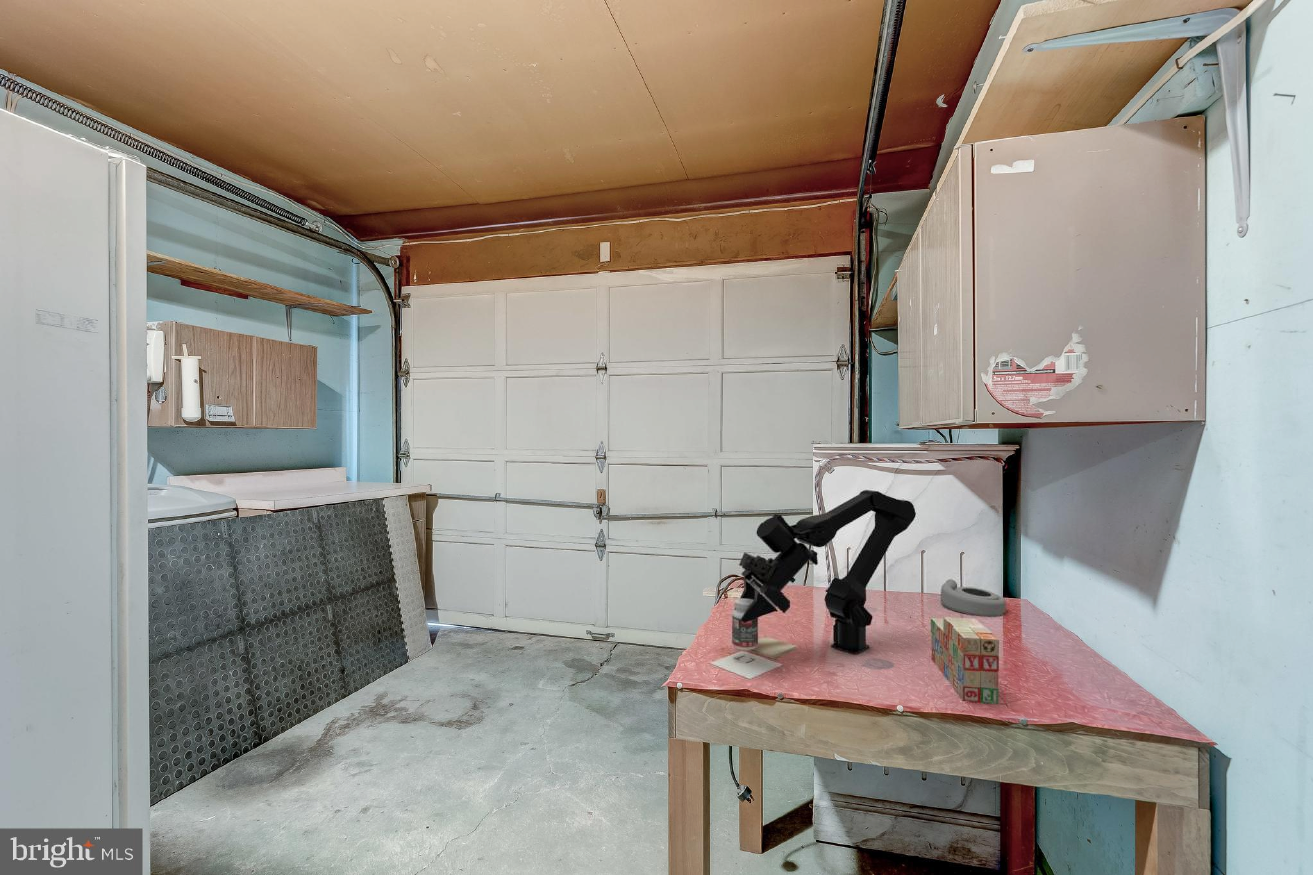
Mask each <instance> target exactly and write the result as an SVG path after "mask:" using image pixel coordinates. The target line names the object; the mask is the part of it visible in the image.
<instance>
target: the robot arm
mask: <svg viewBox="0 0 1313 875" xmlns="http://www.w3.org/2000/svg"><path fill="white" fill-rule="evenodd" d="M870 512H873V513H874V527H873V529H872V531H871V533H870V535H869V536H868V537H867V539H866V542H864V544H863V546H862V548H861V549H860V552H858V555H857V557H856V559H855V560H854V561H853V564H852V565H851V567H850V568H849V570H848V572H847V573H846V575H845V576H844V577H842V578H839V577H838V578H837V577H834V578H833V579H832V580H831V582H830V585H829V586H828V588H827V589H825V595H824V596H825V597H824V603H825V604H824V605H825V607H826V609H827V610H828V614H829V615H830V618H833V619H834V624H833V626H832V632H833V634H832V637H833V638H832V639H833V640H832V641H833V643H831V645H830V647H831V648H834V649H837V650H841V651H844V652H847V653H850V654H855V655H857V654H859V653H862V652H863V651H865V650H867V649H870V645H869V644H867V639H866V638H867V627H868V626H871V625H872V621H873V617H874V616H873V615H872V614H871V612H870V611H869V610H867V608H865V604H866V602H867V587H868V584H869V583H870V581H871V579H872V578H873V575H875V574H874V573H875V572H876V570H877V569H878V567H879V565H880V564H881V561H882V560H883V558H884V556H885V554H886V553H887V551H888V550H889V547H890V546H891V544H892V542H893V540H894V539H895V538H896V537H897V536H898V535H899V534H902V533H904V531H906V530H907V529H908V528H909V527H910V526H911V524H912V523H913V521H914V520H915V518H916V515H917V512H916V509H915V505H914V504H913V503H912V502H911V501H910V500H907V499H906V500H905V499H900V498H899V499H898V498H895V497H892V496H890V495H887V494H884V493H883V492H881V491H877V490H869V489H864V490H862V491H860V492H859V493H858V494H857V495H855V496H853V497H851V498H850V499H848V500H846V501H845V502H843V503H841V504H839V505H837V506H835V507H834V508H832V509H831V510H829V511H827V512H825V513H821V514H813V515H811V516H807V517H804V518H801V519H800V520H798V521H797V522H796V524H792V525H790V524H789V523H788V522H787V521H786V520H785V518H784V517H783V516H782V515H781V514H778V513H774V514H773V516H772V517H769V518H767V519H765V520H764V521H763V522H761V523H760V524H759V525H758V527H757V529H756V535H757V537H758V538H759V539H760V540H761V541H762V542H763V543H764V544H765V545H766V546H767V547H768V548H769V549H770V550H771V551H772V552H773V553H775V554H777V555H776V556H775V557H774V558H772V557H769V558H768V559H766V558H765V557H763V556H760V555H756V556H754V555H752V554H749V553H747V552H743V555H742V557H741V560H740V562H739V564H738V565H739V566H740V567H741V568H742V569H743V571H742V572H741V576H742V577H743V579H742V581H743V591H742V593H741V595H740V598H739V599H752V600H754V601H753V602H752V603H751V605H750V606H749V608H748V609H747V610H746V612H745V613H744V615H743V616H742V618H741V620H742V621H743V622H744V623H745V622H748V621H750V620H753V619H755V618H758V619H759V618H760V617H763V616H765V615H768V614H771V613H774V612H775V613H777V612H778V611H781V612H782V613H783V614H786V612H788V610H789V609H790V608H791V600H790V599H789V598H788V597H787V596H786V595H784V592H782V590H784V588H785V587H786V586H787V585H788V584H789V583H790V582H791V583H792V584H793V583H794V582H795V581H796V578H795V576H796V575H797V574H798V573H799V572H800V571H801V570H802V568H803V567H804V566H805V565H806V564H808V562H810V563H812V564H813V565H815V566H817V565H818V564H819V562H818V552H817V551H815V550H813V549H809V547H807V546H806V545H808V546H811V547H815V548H823V547H825V546H826V545H827V544H828V543H830V542H831V541H832V540H833V539H834V538H835V537H836V535H837V533H838V532H839V531H840V529H842V528H844V527H846V526H847V525H849V524H851V523H852V522H854V521H856V520H858V519H860V518H861V517H863V516H865V515H866V514H868V513H870ZM795 539H796V540H795ZM797 541H798V542H797ZM735 609H736V608H735V607H734V609H733V611H734V610H735Z"/></svg>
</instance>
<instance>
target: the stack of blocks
mask: <svg viewBox="0 0 1313 875" xmlns="http://www.w3.org/2000/svg"><path fill="white" fill-rule="evenodd" d="M930 633H931V635H930V636H931V637H930V638H931V640H930V641H931V659H932V661H933V662H934V665H935V666H936V667H937V668H938V669H939V671H940V672H941V674H942V675H943V676H944V677H945V679H946V680H947V681H948V683H949V684H950V686H951V687H952V686H953V687H952V688H954V689H953V690H954V692H955V693H956V694H957V696H958V695H959V696H958V697H959V698H960V700H961V699H962V700H961V701H962V702H963V701H969V702H968V703H977V702H978V704H990V703H996V704H995V705H999V697H1000V696H999V691H1000V689H999V672H1000V639H999V638H998V637H997V636H996V635H994V634H993V632H992V631H991V630H990V629H988V628H986V626H984V625H983V624H982V623H980V622H979V621H978V620H977V619H976V618H974V617H973V618H970V617H969V618H968V617H965V618H964V617H948V616H943V618H936V617H935V618H934V617H933V618H932V617H931V618H930Z"/></svg>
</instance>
